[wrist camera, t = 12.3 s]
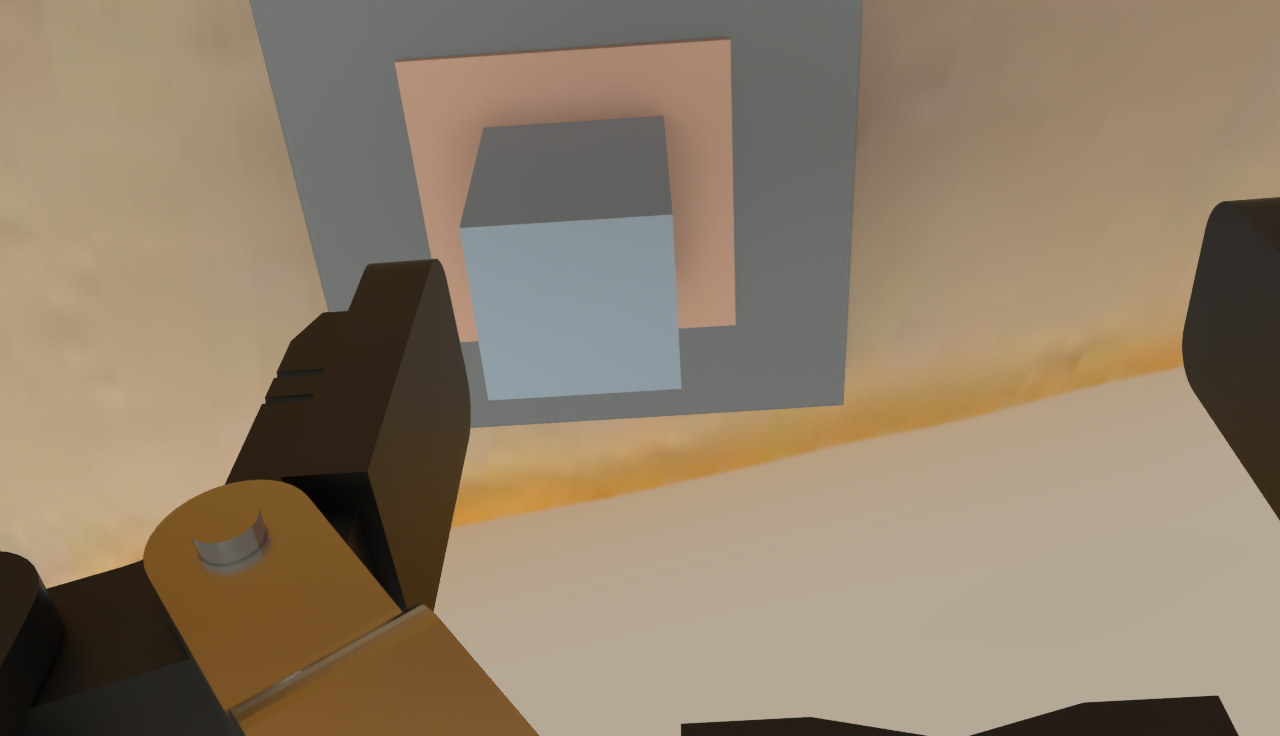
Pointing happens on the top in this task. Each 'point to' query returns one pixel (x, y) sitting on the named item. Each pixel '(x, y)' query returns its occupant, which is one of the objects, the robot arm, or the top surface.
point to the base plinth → (585, 91)
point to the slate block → (573, 259)
